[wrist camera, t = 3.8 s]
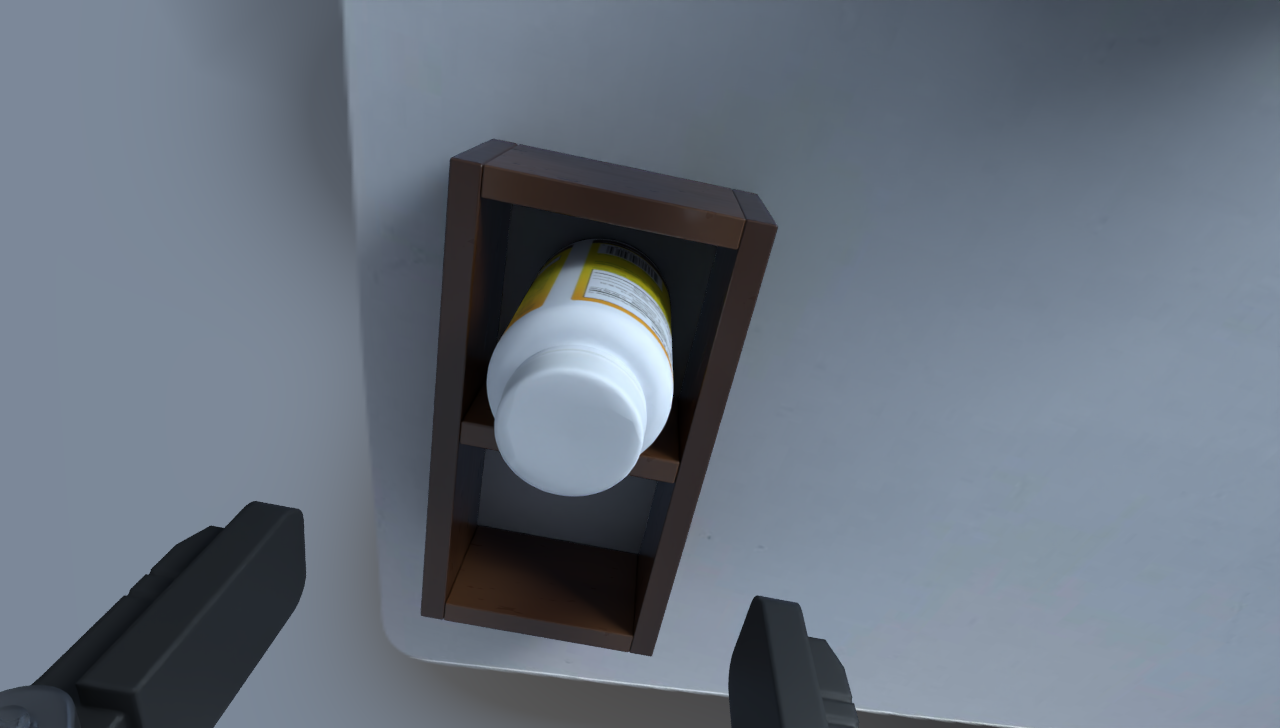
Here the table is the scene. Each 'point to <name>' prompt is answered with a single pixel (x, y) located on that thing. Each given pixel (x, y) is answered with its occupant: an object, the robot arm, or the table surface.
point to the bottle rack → (464, 424)
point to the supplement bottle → (584, 369)
